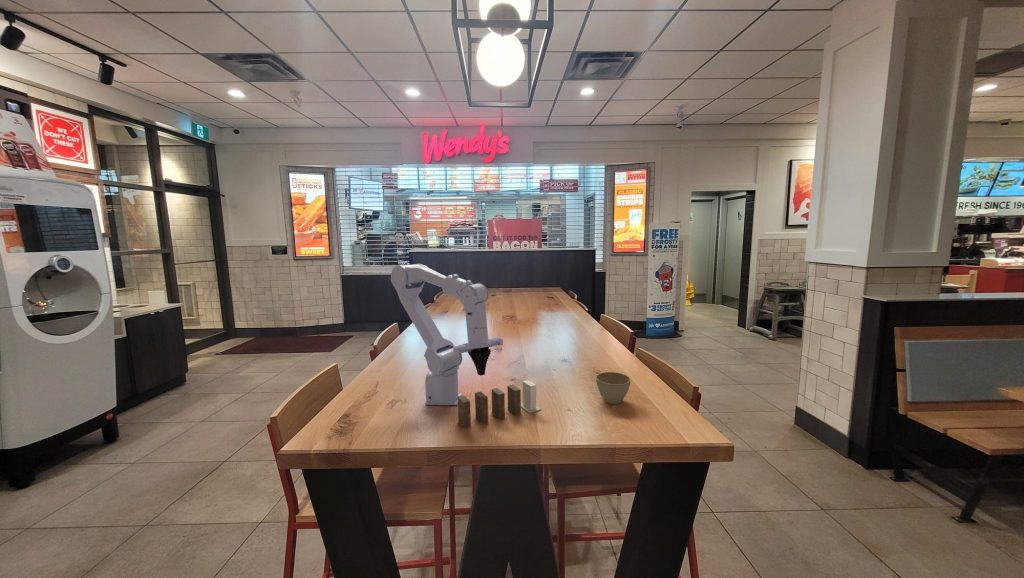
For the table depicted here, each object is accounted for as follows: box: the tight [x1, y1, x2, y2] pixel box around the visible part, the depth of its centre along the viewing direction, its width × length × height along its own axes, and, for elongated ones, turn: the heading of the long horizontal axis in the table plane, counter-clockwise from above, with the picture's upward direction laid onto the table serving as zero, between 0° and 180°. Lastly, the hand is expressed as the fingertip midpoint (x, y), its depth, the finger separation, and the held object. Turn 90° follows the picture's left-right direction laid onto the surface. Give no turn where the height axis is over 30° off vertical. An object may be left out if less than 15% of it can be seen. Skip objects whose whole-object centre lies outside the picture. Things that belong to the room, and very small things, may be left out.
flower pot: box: [595, 371, 632, 405], centre depth 115 cm, size 10×10×7 cm
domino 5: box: [522, 379, 537, 410], centre depth 111 cm, size 2×4×7 cm, turn 29°
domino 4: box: [506, 384, 522, 416], centre depth 109 cm, size 2×4×7 cm, turn 29°
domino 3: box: [491, 387, 506, 420], centre depth 107 cm, size 2×4×7 cm, turn 28°
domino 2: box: [474, 391, 489, 425], centre depth 104 cm, size 2×4×7 cm, turn 28°
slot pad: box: [521, 402, 542, 414], centre depth 112 cm, size 4×6×1 cm, turn 28°
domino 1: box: [457, 394, 472, 429], centre depth 102 cm, size 2×4×7 cm, turn 28°
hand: (481, 374), depth 109 cm, fingers closed
